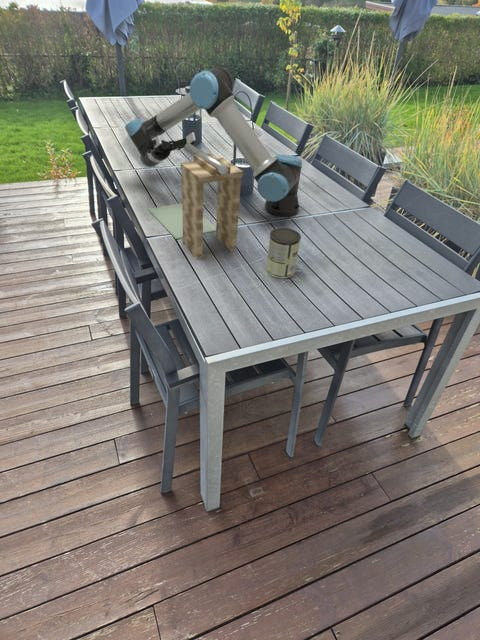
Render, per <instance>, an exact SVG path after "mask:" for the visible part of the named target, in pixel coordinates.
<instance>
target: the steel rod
mask: <svg viewBox="0 0 480 640" xmlns="http://www.w3.org/2000/svg"><path fill="white" fill-rule="evenodd" d="M183 149H184V152H186V153H188V154H189V155H191V156H192V157H194V155H198V156H199V157H201V158H202V159H204V160H205V161H206V162H208V163H209V164H211V165H212V166H213V167H215V168H216V169H217V172H218V173H220V174H222V175H226V174H227V173H228V170H229V169H228V167H227V166H226V165H224V164H222V163H221V162H219V161H217V160H216V159H214V158H213V157H211V156H209V155H208V153H206V152H204V151H203V150H201V149H200V148H198V147H196V146H194V144H193V145H191V144H190V143H187V144H186V145H185V147H184V148H183Z"/></svg>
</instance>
